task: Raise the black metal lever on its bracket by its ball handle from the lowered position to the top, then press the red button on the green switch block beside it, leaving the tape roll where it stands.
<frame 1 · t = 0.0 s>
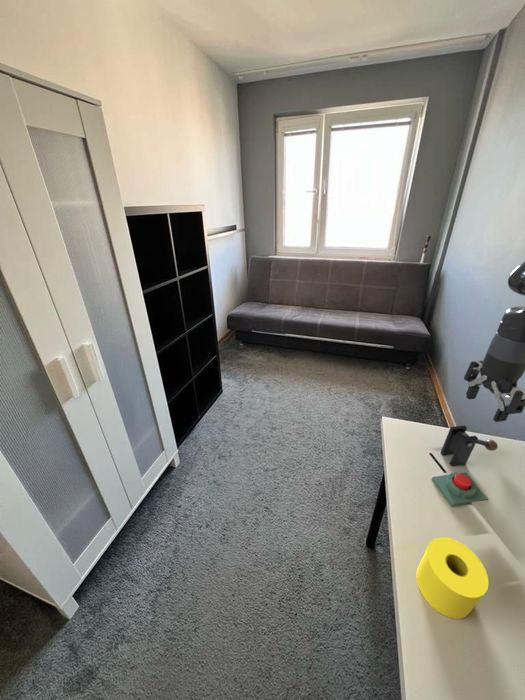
hand: (483, 408, 70), 24 cm above the table, tool pointing down, fingers open, 8 cm apart
button: (462, 481, 74), point 4 cm above the table, slide at 0.1 cm
tape roll: (442, 587, 58), on the table
lever: (476, 441, 81), point 8 cm above the table, hinge at -25.0°
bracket: (450, 462, 85), on the table
switch block: (456, 492, 76), on the table
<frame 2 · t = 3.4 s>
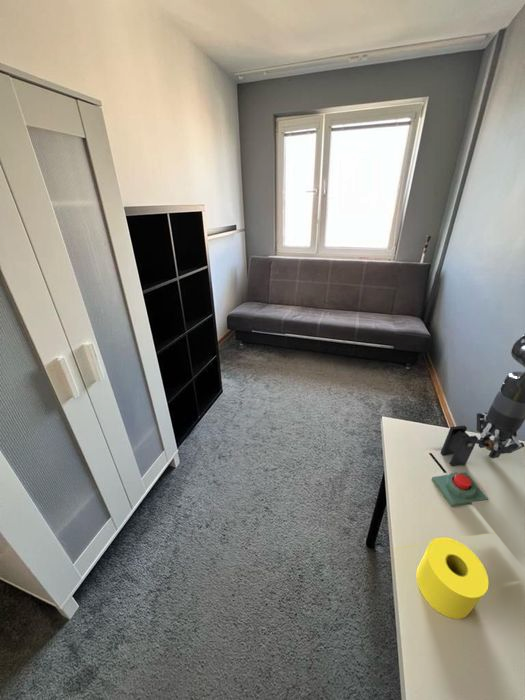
hand: (487, 451, 84), 3 cm above the table, tool pointing down, fingers closed on lever, 3 cm apart
lever: (476, 441, 81), point 8 cm above the table, hinge at -25.0°, touching gripper
everything else where it was.
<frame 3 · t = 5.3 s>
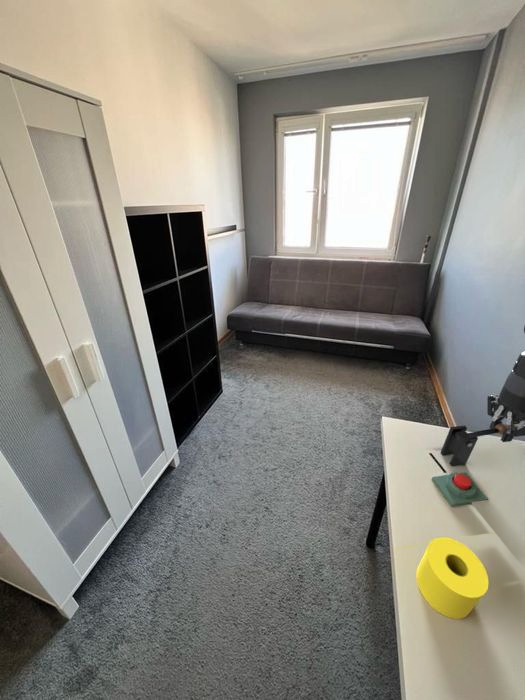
hand: (498, 435, 81), 10 cm above the table, tool pointing down, fingers closed on lever, 3 cm apart
lever: (482, 433, 80), point 12 cm above the table, hinge at 5.8°, touching gripper
everything else where it was.
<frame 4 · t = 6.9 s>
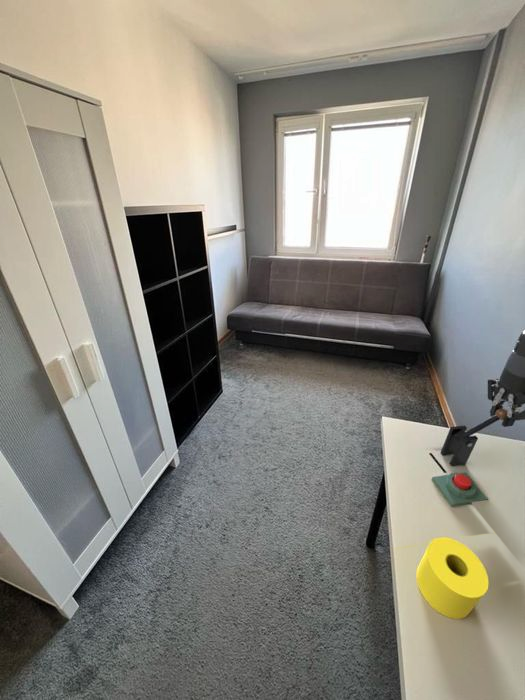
hand: (499, 420, 78), 16 cm above the table, tool pointing down, fingers closed on lever, 3 cm apart
lever: (482, 425, 78), point 15 cm above the table, hinge at 36.8°, touching gripper
everything else where it was.
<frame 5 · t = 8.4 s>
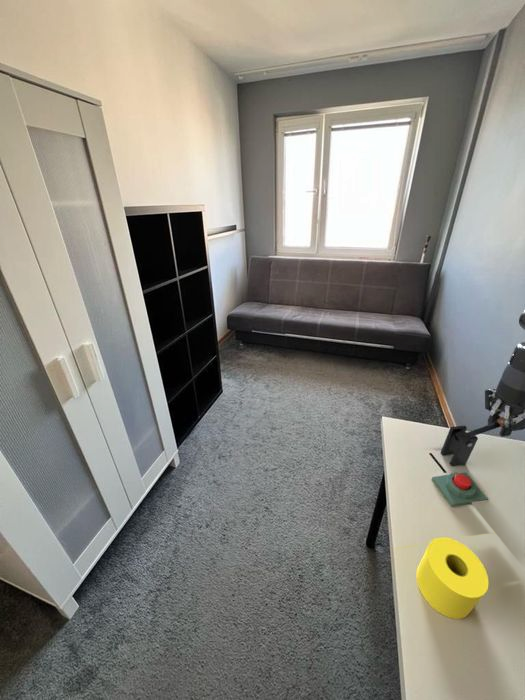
hand: (497, 429, 80), 12 cm above the table, tool pointing down, fingers open, 3 cm apart
lever: (483, 429, 79), point 13 cm above the table, hinge at 18.8°
everything else where it was.
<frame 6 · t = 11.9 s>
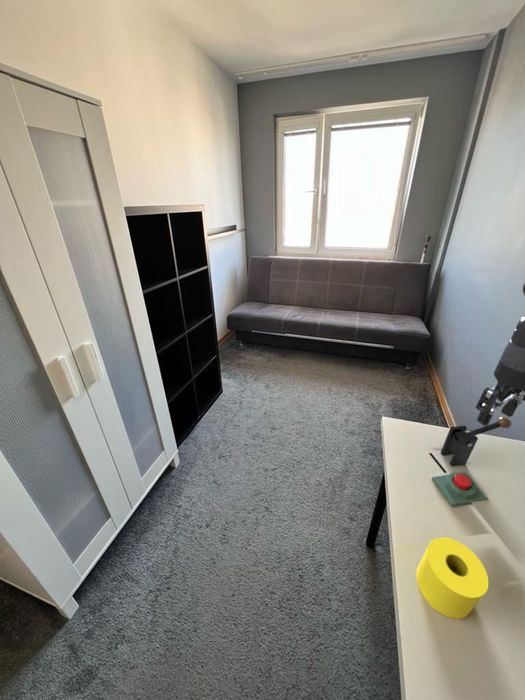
hand: (494, 418, 68), 23 cm above the table, tool pointing down, fingers open, 8 cm apart
nothing on the table moved.
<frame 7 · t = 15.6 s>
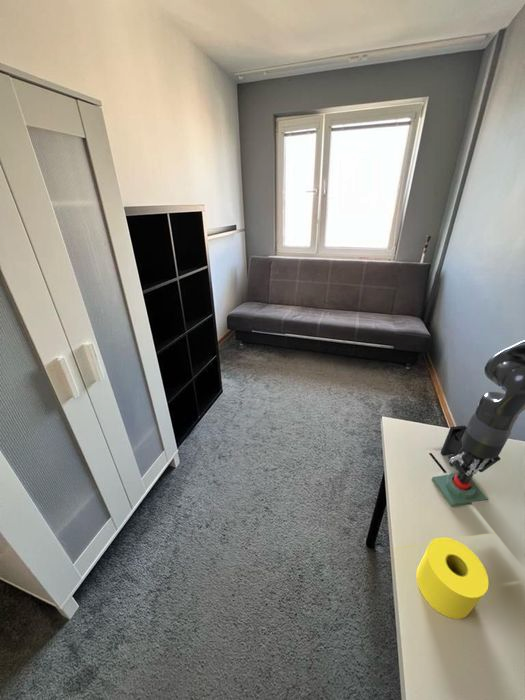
hand: (462, 480, 74), 5 cm above the table, tool pointing down, fingers closed
button: (461, 482, 74), point 4 cm above the table, slide at -0.1 cm, touching gripper
everything else where it was.
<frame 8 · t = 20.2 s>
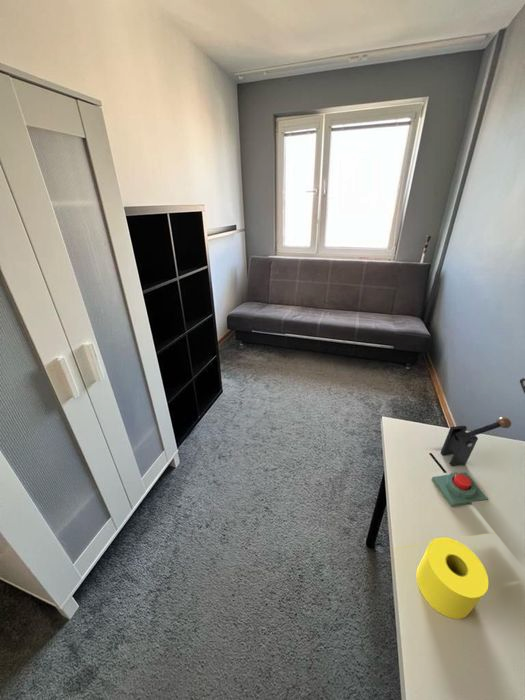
button: (462, 481, 74), point 4 cm above the table, slide at 0.1 cm
everything else where it was.
at the end: lever at +19° (first picture: -25°); button pushed in 1.1 cm at the most during the clip, back to where it started at the end; tape roll moved 0.2 cm from its start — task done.
